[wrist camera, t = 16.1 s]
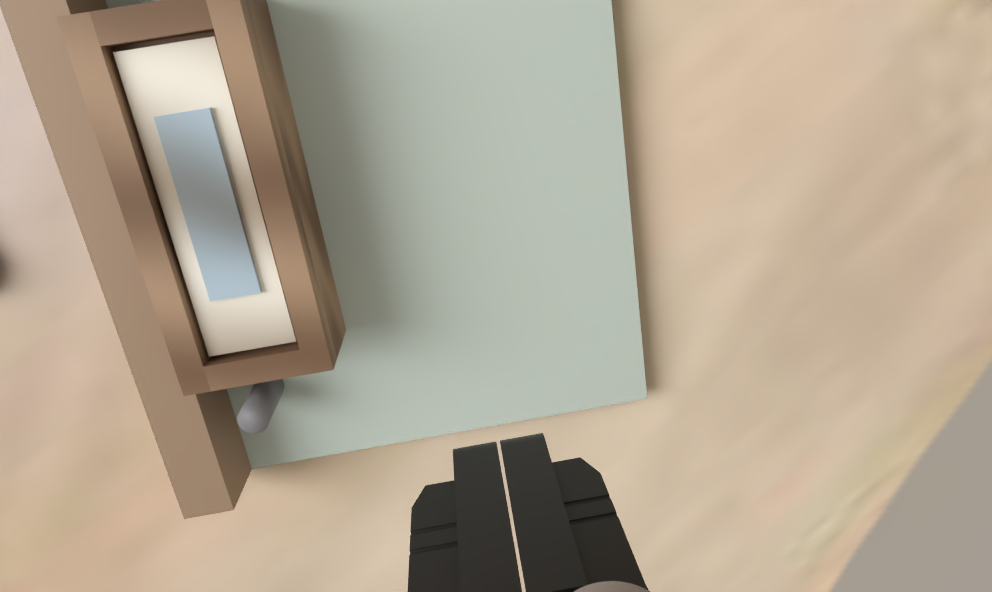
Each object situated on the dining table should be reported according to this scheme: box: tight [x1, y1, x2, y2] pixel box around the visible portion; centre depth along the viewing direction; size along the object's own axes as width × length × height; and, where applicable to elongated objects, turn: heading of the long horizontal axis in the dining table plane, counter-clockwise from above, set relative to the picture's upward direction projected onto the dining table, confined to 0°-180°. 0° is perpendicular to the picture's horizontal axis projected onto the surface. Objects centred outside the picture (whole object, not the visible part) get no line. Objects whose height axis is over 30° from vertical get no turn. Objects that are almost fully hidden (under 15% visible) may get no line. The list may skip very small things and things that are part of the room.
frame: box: [56, 0, 346, 396], centre depth 25 cm, size 13×6×4 cm, turn 9°
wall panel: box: [0, 0, 647, 519], centre depth 27 cm, size 24×20×4 cm
